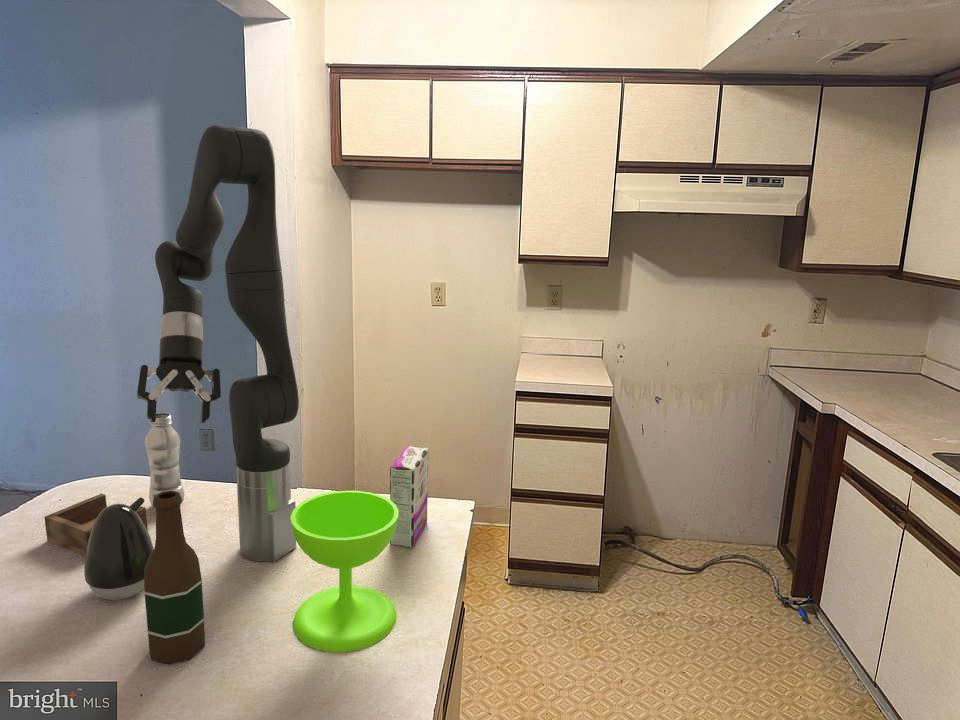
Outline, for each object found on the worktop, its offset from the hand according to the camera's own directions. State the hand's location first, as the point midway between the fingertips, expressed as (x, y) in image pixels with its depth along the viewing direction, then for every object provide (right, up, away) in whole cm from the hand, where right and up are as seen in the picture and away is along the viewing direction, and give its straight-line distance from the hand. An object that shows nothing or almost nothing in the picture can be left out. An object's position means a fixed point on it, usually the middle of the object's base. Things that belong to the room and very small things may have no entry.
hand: (178, 421), depth 121 cm
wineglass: (+35, -29, -19) cm, 49 cm away
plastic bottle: (-9, -19, +14) cm, 25 cm away
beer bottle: (+13, -30, -27) cm, 43 cm away
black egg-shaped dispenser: (-2, -26, -15) cm, 30 cm away
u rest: (-15, -22, +2) cm, 27 cm away
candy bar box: (+42, -23, +8) cm, 49 cm away
